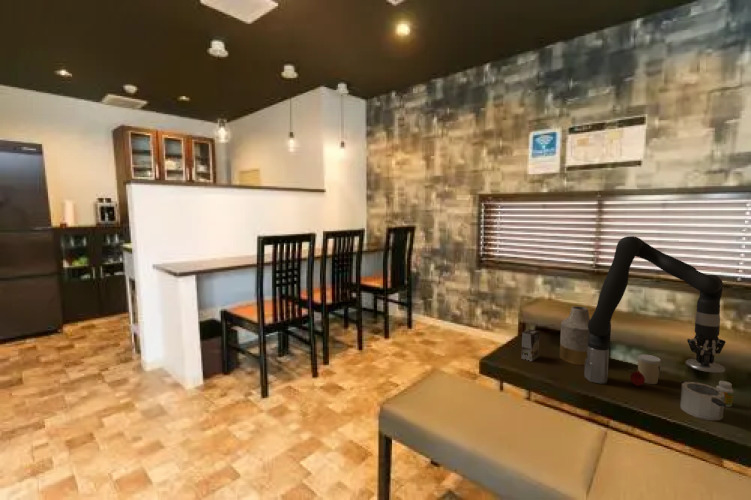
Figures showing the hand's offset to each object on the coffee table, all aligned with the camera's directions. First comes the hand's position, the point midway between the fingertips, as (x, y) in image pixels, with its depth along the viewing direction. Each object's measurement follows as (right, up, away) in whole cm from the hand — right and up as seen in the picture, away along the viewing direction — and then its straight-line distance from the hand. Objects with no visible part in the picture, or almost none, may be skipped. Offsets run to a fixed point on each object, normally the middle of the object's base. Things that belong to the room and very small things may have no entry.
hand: (704, 362), depth 148 cm
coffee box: (-48, -17, +60) cm, 78 cm away
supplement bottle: (+16, -21, +8) cm, 27 cm away
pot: (0, -22, +2) cm, 22 cm away
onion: (-10, -20, +25) cm, 33 cm away
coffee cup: (-1, -19, +30) cm, 36 cm away
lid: (0, -2, 0) cm, 2 cm away
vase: (-21, -16, +58) cm, 63 cm away
